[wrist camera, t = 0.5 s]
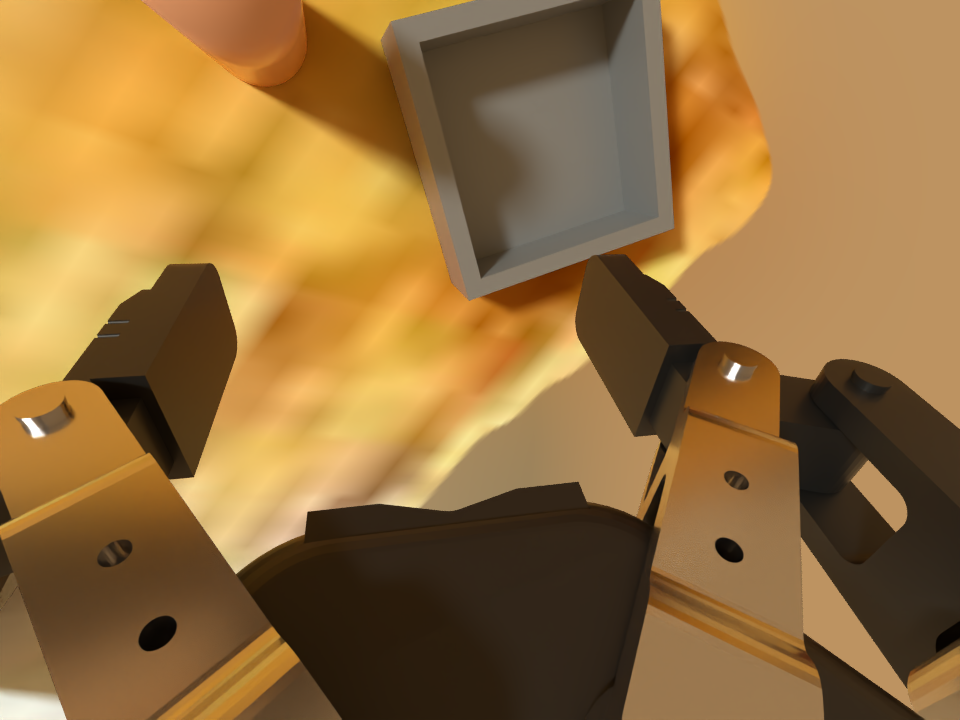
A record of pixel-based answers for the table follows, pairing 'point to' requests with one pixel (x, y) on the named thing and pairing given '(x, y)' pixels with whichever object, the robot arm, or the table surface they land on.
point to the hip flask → (8, 589)
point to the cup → (243, 34)
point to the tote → (535, 131)
